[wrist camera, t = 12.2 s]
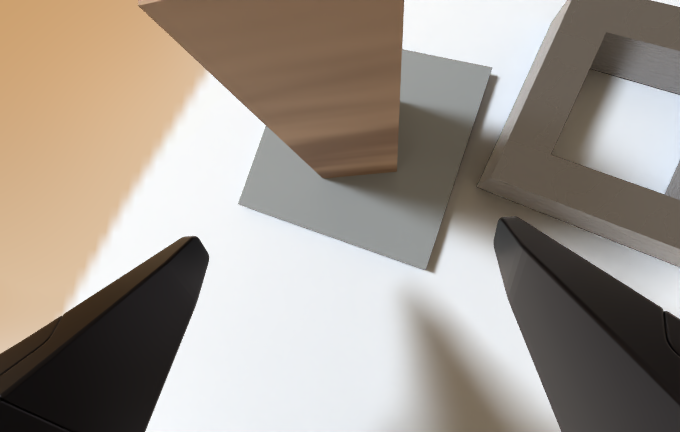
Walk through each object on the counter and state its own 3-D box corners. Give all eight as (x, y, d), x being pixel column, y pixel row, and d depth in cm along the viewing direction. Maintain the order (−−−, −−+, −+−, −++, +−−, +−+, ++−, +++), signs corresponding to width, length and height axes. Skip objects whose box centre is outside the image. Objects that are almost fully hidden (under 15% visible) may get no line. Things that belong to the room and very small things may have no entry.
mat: (424, 269, 17) (425, 270, 16) (242, 205, 19) (238, 204, 18) (489, 73, 17) (492, 67, 16) (303, 35, 19) (300, 28, 19)
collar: (684, 268, 14) (743, 273, 12) (476, 187, 17) (490, 177, 14) (768, 78, 15) (844, 45, 12) (551, 21, 17) (578, -17, 14)
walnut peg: (396, 171, 17) (406, -55, 4) (322, 178, 18) (138, 5, 5) (391, 99, 17) (385, -304, 5) (319, 108, 18) (144, -214, 5)
